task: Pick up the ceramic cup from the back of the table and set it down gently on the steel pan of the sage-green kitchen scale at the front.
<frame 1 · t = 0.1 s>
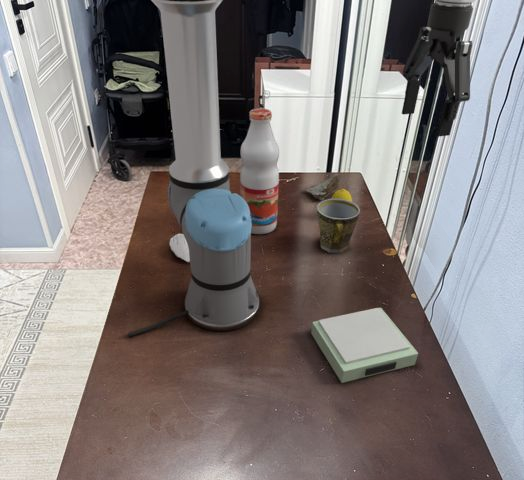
hand: (424, 124, 105), 28 cm above the table, tool pointing down, fingers open, 13 cm apart
kitchen scale: (361, 348, 94), on the table
fruit juice: (258, 226, 128), on the table
ceramic cup: (333, 249, 120), on the table
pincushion: (183, 251, 118), on the table
rock sample: (319, 196, 141), on the table
lemon: (339, 218, 132), on the table
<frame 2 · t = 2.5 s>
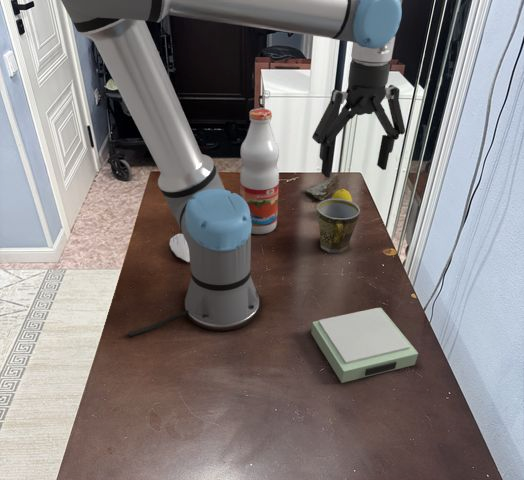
hand: (353, 171, 107), 19 cm above the table, tool pointing down, fingers open, 13 cm apart
nothing on the table moved.
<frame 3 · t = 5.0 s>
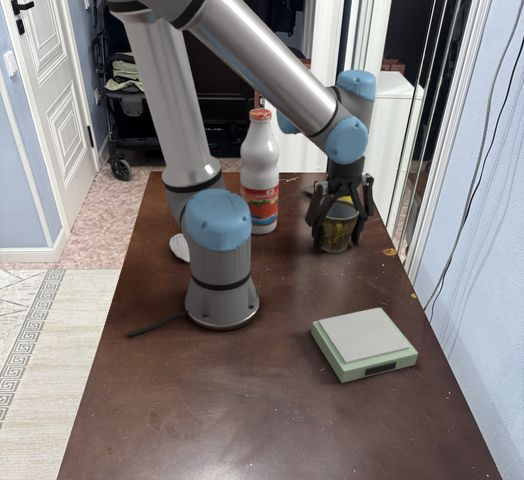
hand: (335, 246, 120), 1 cm above the table, tool pointing down, fingers closed on ceramic cup, 9 cm apart
ceramic cup: (333, 250, 120), on the table, touching gripper
everything else where it was.
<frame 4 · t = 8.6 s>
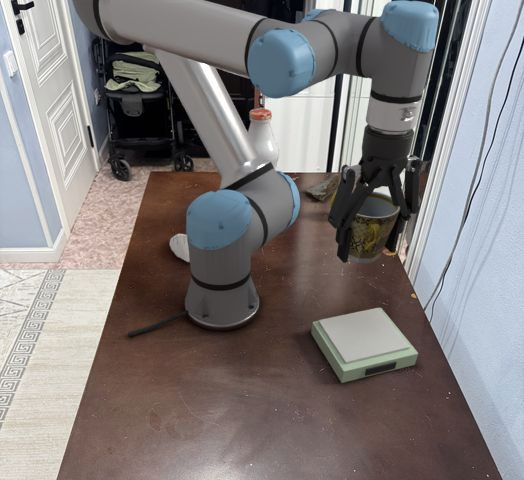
hand: (366, 253, 90), 16 cm above the table, tool pointing down, fingers closed on ceramic cup, 9 cm apart
ceramic cup: (362, 258, 91), point 15 cm above the table, touching gripper
everything else where it was.
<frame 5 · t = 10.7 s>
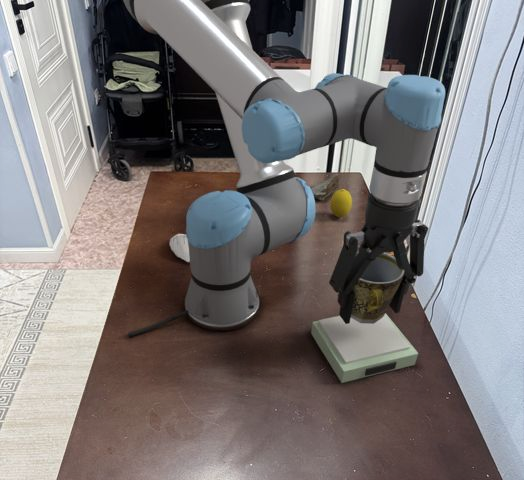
hand: (369, 313, 88), 9 cm above the table, tool pointing down, fingers closed on ceramic cup, 9 cm apart
ceramic cup: (365, 318, 89), point 8 cm above the table, touching gripper
everything else where it was.
when the fingers open (4 cm above the table, at t = 12.3 s): ceramic cup stays where it is, resting on kitchen scale.
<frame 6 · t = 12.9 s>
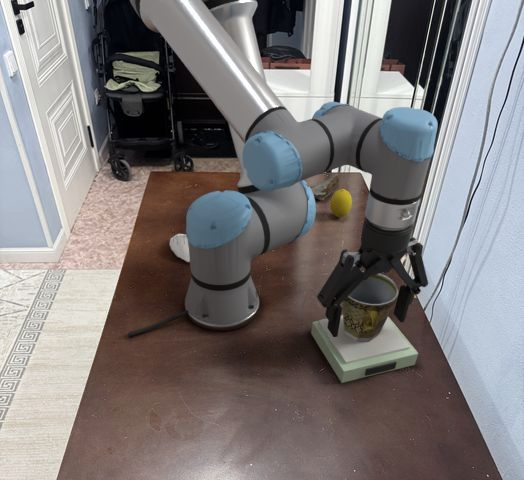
hand: (366, 325, 90), 6 cm above the table, tool pointing down, fingers open, 13 cm apart
ceramic cup: (361, 336, 92), point 3 cm above the table, touching kitchen scale
everything else where it was.
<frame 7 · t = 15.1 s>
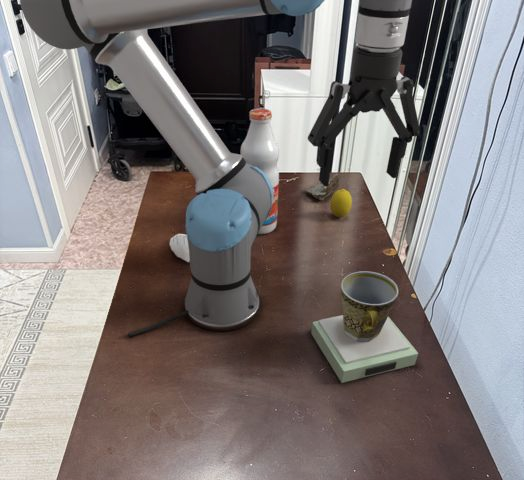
hand: (357, 179, 91), 25 cm above the table, tool pointing down, fingers open, 13 cm apart
nothing on the table moved.
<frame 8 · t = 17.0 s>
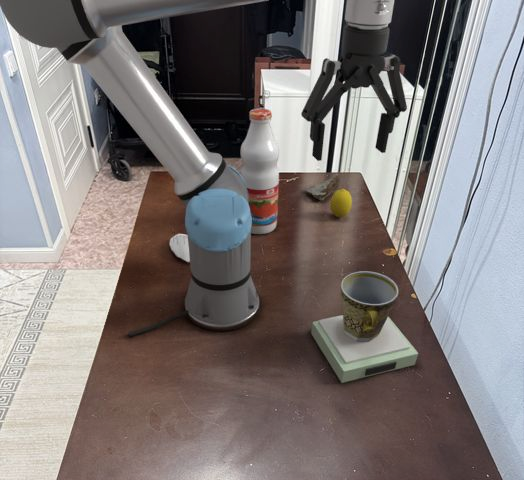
hand: (349, 154, 95), 27 cm above the table, tool pointing down, fingers open, 13 cm apart
nothing on the table moved.
at the end: ceramic cup inside the target area on the kitchen scale (0.6 cm from its centre), point 3.4 cm above the kitchen scale's base; ceramic cup tilted 0°; the gripper is holding nothing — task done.
